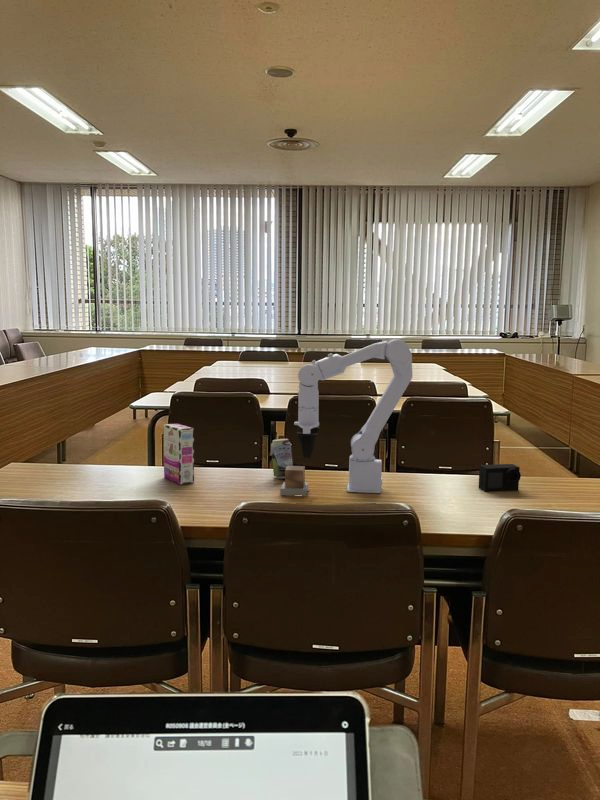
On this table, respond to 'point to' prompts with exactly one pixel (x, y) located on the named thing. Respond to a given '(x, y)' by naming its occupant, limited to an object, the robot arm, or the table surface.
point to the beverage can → (281, 456)
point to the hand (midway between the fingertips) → (308, 454)
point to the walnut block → (294, 476)
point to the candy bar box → (179, 453)
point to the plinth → (294, 490)
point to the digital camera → (499, 477)
